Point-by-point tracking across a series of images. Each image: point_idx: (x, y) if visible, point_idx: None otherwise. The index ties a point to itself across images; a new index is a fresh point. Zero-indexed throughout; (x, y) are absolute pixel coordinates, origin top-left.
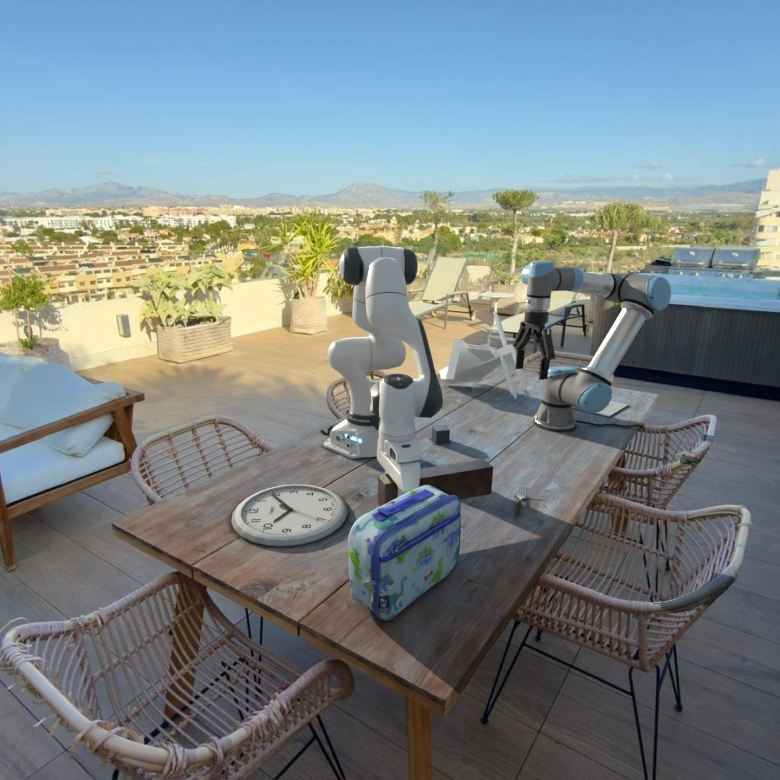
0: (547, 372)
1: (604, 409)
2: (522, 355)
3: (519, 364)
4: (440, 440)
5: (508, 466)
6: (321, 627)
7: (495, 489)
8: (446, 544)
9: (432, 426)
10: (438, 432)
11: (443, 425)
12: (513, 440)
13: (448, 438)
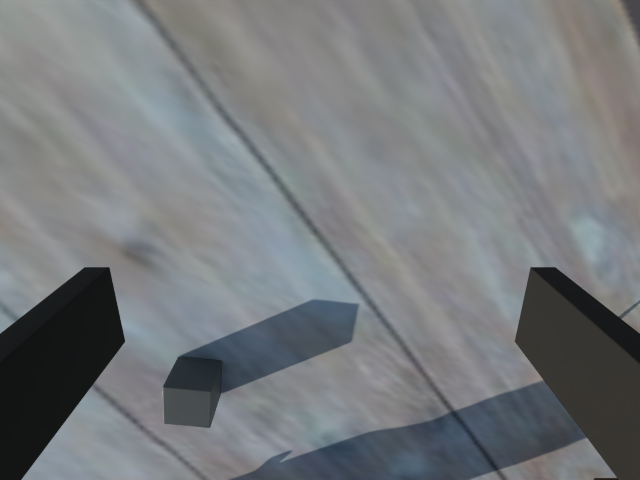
0: (602, 311)
1: None
2: (3, 404)
3: (92, 344)
4: (218, 391)
5: (430, 284)
6: None
7: (523, 377)
8: None
9: (166, 423)
10: (211, 418)
11: (165, 393)
12: (251, 156)
13: (218, 374)
